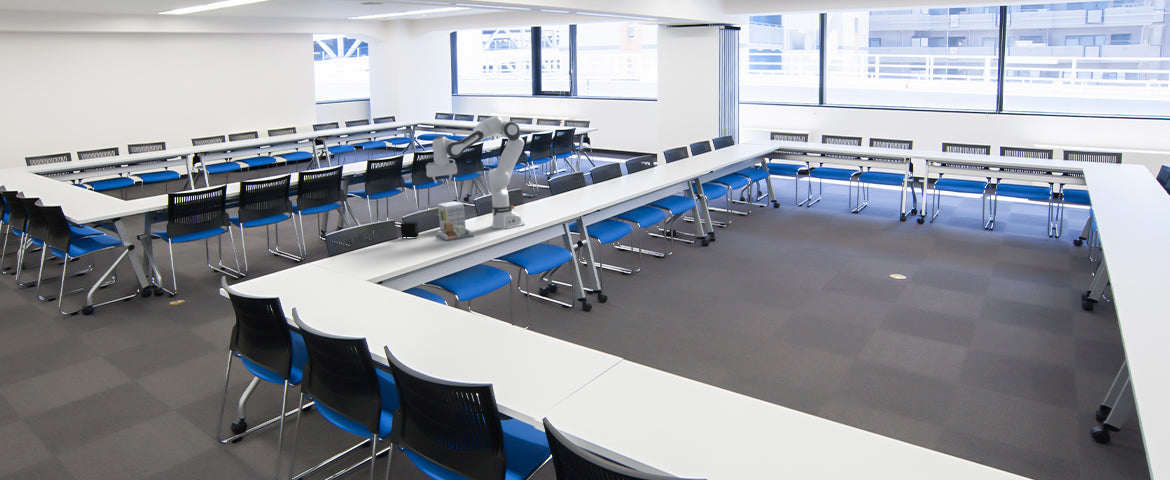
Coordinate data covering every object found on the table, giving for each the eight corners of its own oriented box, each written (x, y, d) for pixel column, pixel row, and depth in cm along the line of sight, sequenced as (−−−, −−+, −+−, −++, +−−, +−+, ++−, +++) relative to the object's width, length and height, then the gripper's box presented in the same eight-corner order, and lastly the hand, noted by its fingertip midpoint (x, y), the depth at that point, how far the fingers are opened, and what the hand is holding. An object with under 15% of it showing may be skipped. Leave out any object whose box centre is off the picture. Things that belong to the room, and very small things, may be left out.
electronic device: (416, 238, 493) (414, 223, 490) (401, 238, 495) (400, 223, 492) (418, 236, 497) (417, 221, 494) (404, 236, 499) (403, 221, 496)
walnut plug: (453, 235, 490) (452, 223, 488) (447, 236, 488) (446, 224, 486) (450, 233, 495) (449, 221, 493) (444, 234, 493) (443, 222, 491)
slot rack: (464, 231, 506) (463, 222, 504) (473, 236, 490) (473, 227, 489) (436, 235, 497) (435, 227, 495) (445, 241, 482) (444, 232, 480)
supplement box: (439, 229, 516) (437, 203, 511) (457, 225, 523) (454, 200, 519) (448, 232, 505) (446, 206, 501) (466, 228, 513) (464, 203, 508)
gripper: (427, 163, 489) (429, 184, 492) (457, 160, 499) (459, 180, 502) (424, 162, 494) (426, 183, 498) (453, 159, 504) (455, 179, 507)
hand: (442, 182), depth 500 cm, fingers open, 8 cm apart
